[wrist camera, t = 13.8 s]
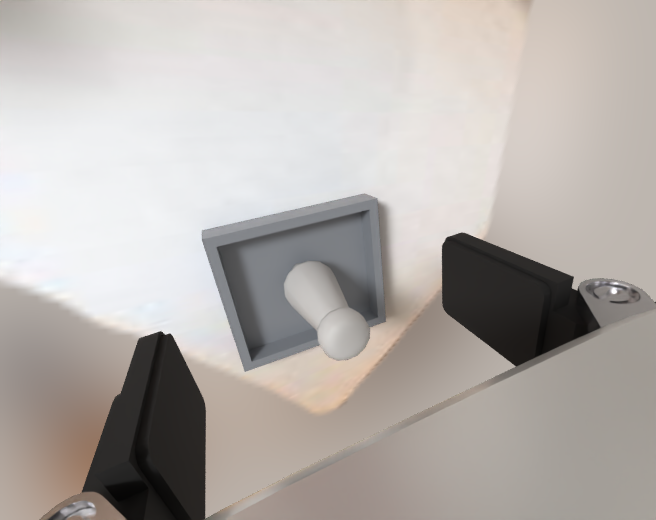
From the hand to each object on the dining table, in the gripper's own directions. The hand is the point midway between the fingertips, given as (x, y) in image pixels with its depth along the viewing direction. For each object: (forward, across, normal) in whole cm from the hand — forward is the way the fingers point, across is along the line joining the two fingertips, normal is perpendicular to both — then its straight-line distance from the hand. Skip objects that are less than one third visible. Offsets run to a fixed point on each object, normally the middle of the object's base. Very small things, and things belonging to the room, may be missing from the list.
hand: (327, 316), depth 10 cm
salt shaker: (+23, -4, +11) cm, 26 cm away
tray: (+24, -3, +11) cm, 26 cm away
